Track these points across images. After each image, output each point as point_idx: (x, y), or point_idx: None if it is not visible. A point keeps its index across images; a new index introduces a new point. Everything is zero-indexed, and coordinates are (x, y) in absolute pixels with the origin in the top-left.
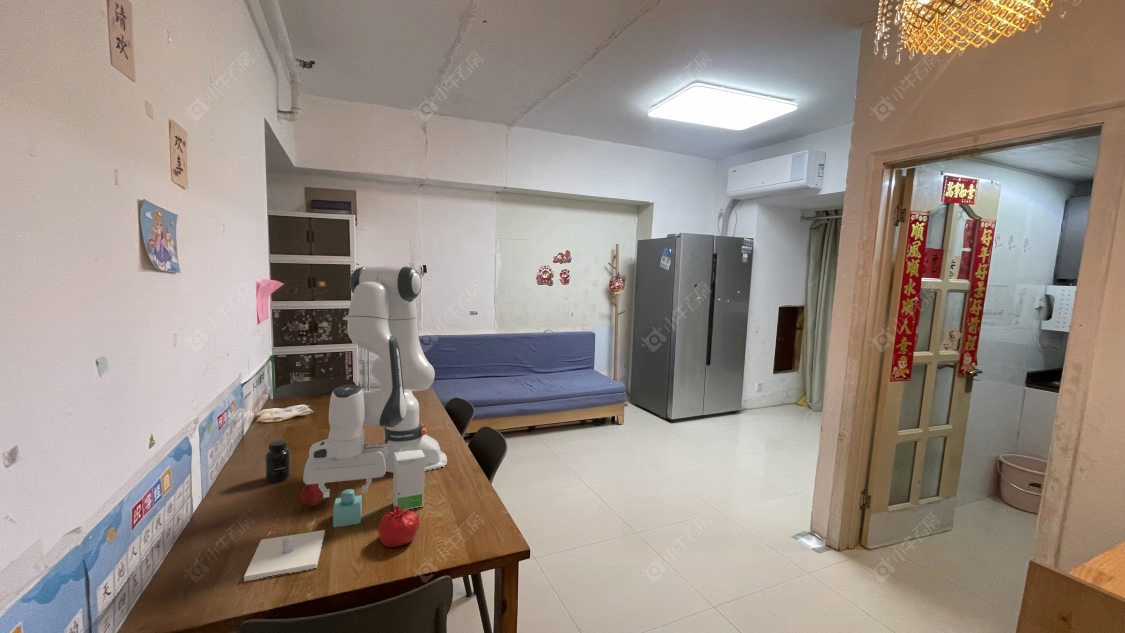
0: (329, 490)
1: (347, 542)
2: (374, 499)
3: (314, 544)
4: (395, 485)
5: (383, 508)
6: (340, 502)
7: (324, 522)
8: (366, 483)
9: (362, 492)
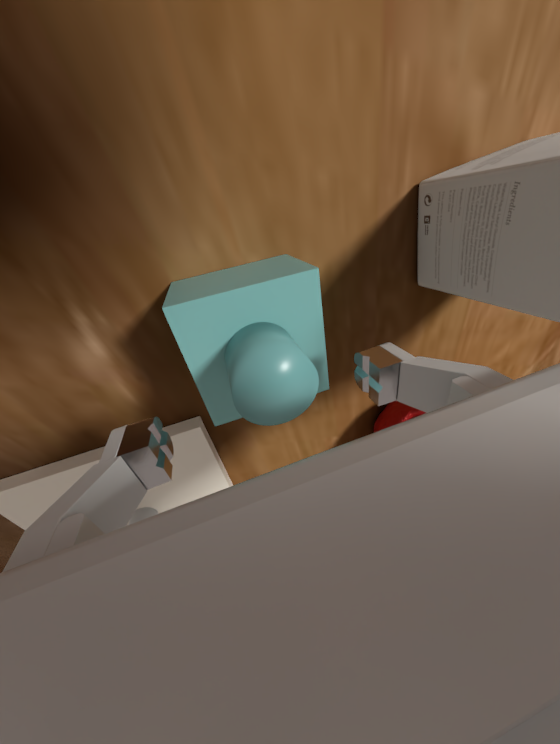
0: (156, 456)
1: (285, 438)
2: (329, 105)
3: (206, 483)
4: (542, 301)
5: (375, 236)
6: (218, 357)
7: (151, 346)
8: (419, 376)
9: (366, 388)
